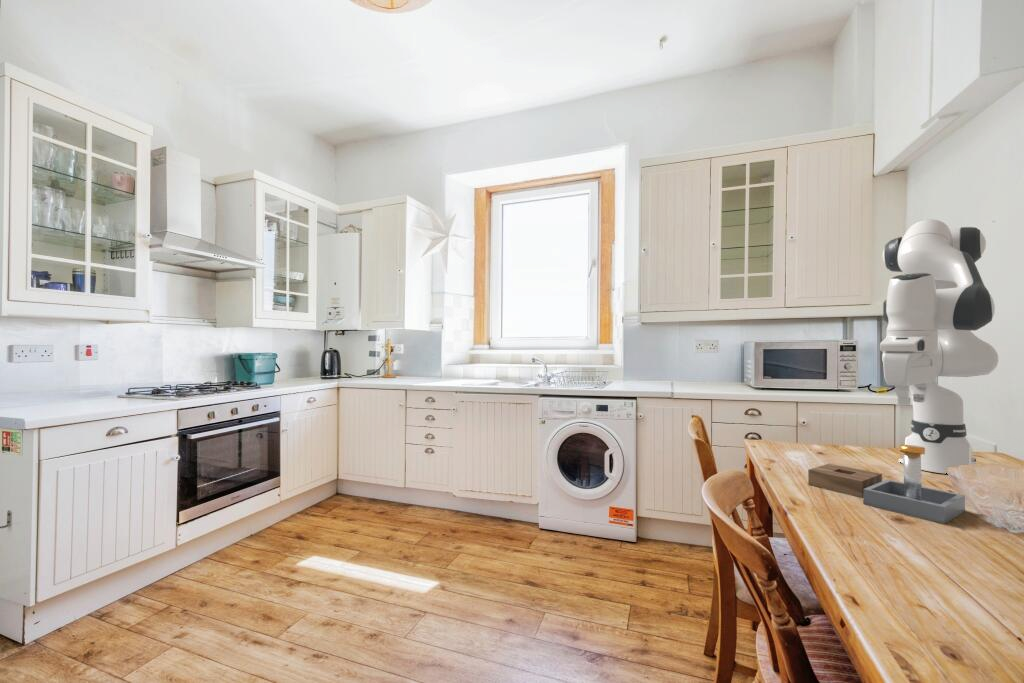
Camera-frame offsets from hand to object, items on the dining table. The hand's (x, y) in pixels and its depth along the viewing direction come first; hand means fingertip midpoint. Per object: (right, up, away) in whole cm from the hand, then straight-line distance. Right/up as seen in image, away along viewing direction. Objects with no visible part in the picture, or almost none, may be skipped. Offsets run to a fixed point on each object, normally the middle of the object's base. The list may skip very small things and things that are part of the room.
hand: (911, 403), depth 102 cm
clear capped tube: (0, -23, 0) cm, 23 cm away
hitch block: (-5, -24, +15) cm, 28 cm away
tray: (0, -24, 0) cm, 24 cm away
